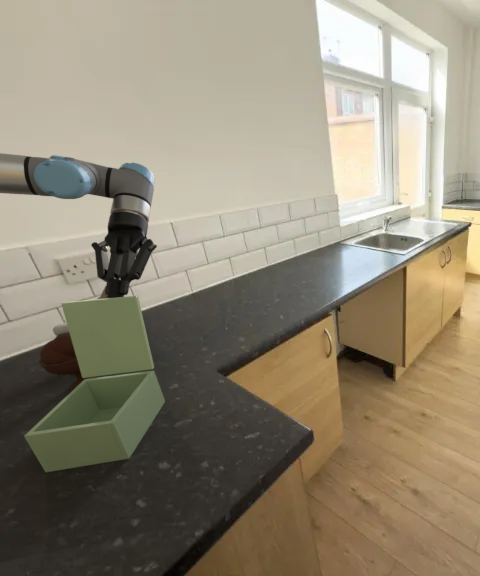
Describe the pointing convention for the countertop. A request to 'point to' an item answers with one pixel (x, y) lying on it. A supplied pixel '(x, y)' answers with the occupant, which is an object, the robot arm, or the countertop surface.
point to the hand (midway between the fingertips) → (113, 308)
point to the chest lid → (108, 336)
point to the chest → (97, 421)
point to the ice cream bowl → (61, 358)
